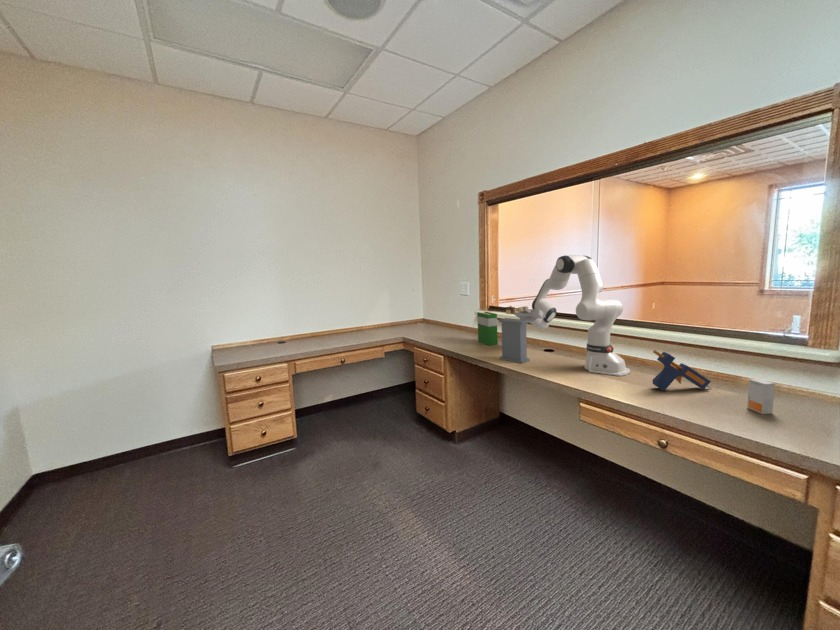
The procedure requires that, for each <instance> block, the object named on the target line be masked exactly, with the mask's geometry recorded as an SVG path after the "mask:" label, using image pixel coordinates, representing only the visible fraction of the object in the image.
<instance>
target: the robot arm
mask: <svg viewBox="0 0 840 630" xmlns="http://www.w3.org/2000/svg"><path fill="white" fill-rule="evenodd" d="M555 262H556V263H555V265H554V266H553V269H552V272H551V274H550V276H549V278H547V279H545V280H544V282H543V283H542V285H541V287H540V289H539V290H538V293H537V295H536V297H535V298H534V299H533V300H532V303H531V308H528V309H527V308H524V311H523V312H518V313H515V314H513V315H514V316H515V317H516V318H517V319H522V320H529V324H531V325H533V326H534V327H535V328H537V329H539V330H546V329H548V327H549V326H550V322H551V321H553V320H554V319H555V318H556V315H557V312H558V311H557V309H556V307H555V306H553V305H552V304H550V303H549V302H548V301H547V300H546V297H547V295H548V294H549V292H550V290H553V291H561V290H563V289H564V288H566V286H568V285H567V284H568V283H569V281H570V278H571V274H573V275H575V274H576V275H577V278H578V281H579V285H580V290H581V298H580V301H579V303H578V304H577V305H576V307H575V314H576V316H577V318H578V319H580V320H582V321H594V323H593V325H591V326H590V327H589V328H588V329H587V343H586V359H585V362H584V363H585V364H584V366H583V368H584V369H585V370H587V371H588V372H589V373H595V374H602V375H610V376H616V377H617V376H618V377H620V376H621V377H623V376H626V375H629V374H630V372H631V370H630V368H628V367H626V362H625V359H624V358H623V357H621V356H620V355H619V354H617V353H616V352H615V351H614V349H615V345H613V346H612V344H611V330H612V327H613V325H614V323H615V321H616V319H618V317H619V316H621V315H622V313H623V311H624V308H623V307H624V306H623V304H622V302H621V301H620V300H617V299H613V298H605V299H604V298H603V299H602V298H601V299H600V298H599V293H601V292H602V291H603V289H604V284H603V279H602V276H601V273H600V271H599V268H598V266H597V264H596V262H595V261H594V260H593V259H592V257H590V256H587V255H579V254H577V255H576V254H570V255H565V254H564V255H561V256H559V257H558V258H557V260H556V261H555Z"/></svg>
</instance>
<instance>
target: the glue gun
mask: <svg viewBox="0 0 840 630" xmlns="http://www.w3.org/2000/svg"><path fill="white" fill-rule="evenodd" d="M652 351H653V352H652V353H653V354H655V355H656V356H658V357H657V359H656V360H657V361H658V362H660V363H661V364H662V365H663V368H662V370H661V371H660V372H659V373H657V375H656V376H655V377H654V378H653V379H652V385H654V386H655V387H657V389H658V388H659V389H660V390H661V391H664V392H665V391H666V390H667V389H668V387H669V386H670V385H671V384H672V383H673V381H675V380H676V381H677V383H679V384H682V378H685V379H686V380H688V382H689V383H690V382H691V383H692V384H694V385H695V386H696V387H698V388H700V389H702V390H706V388H708V389H710V390H712V387H711V386H709V385H710V383H711V382H712V381H711V380H710V379H708V378H707V377H706V376H704V375H702V374H701V373H699V372H698V371H696V370H695V369H693V368H691V367H690V366H688V365H686V364H685V363H681V362H680V364H678V363H676V362H674V361H675V359H676V357H675V356H673V355H671V354H670V353H667V352H666V351H663V352H662V353H661V352H659V351H657V350H656V349H655V350H652Z"/></svg>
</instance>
